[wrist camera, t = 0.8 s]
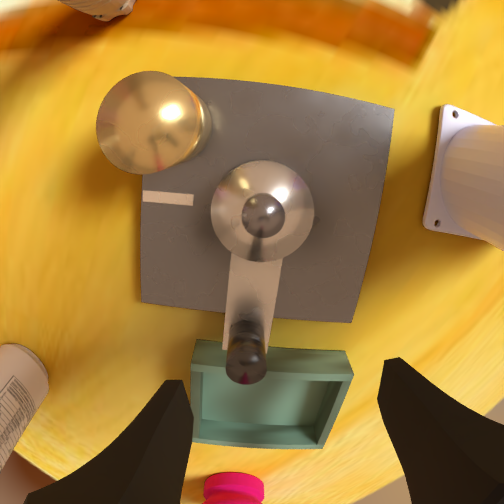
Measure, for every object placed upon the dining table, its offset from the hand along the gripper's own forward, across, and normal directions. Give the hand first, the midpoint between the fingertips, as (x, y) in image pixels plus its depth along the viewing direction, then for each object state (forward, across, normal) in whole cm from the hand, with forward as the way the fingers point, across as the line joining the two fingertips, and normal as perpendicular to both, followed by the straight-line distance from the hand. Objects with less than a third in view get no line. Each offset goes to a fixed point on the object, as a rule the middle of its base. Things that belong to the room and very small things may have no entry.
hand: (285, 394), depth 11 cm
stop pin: (+8, +4, -10) cm, 14 cm away
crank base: (+10, 0, -5) cm, 11 cm away
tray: (+9, +1, +9) cm, 13 cm away
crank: (+8, +1, -2) cm, 8 cm away
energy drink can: (+10, +22, +7) cm, 25 cm away
